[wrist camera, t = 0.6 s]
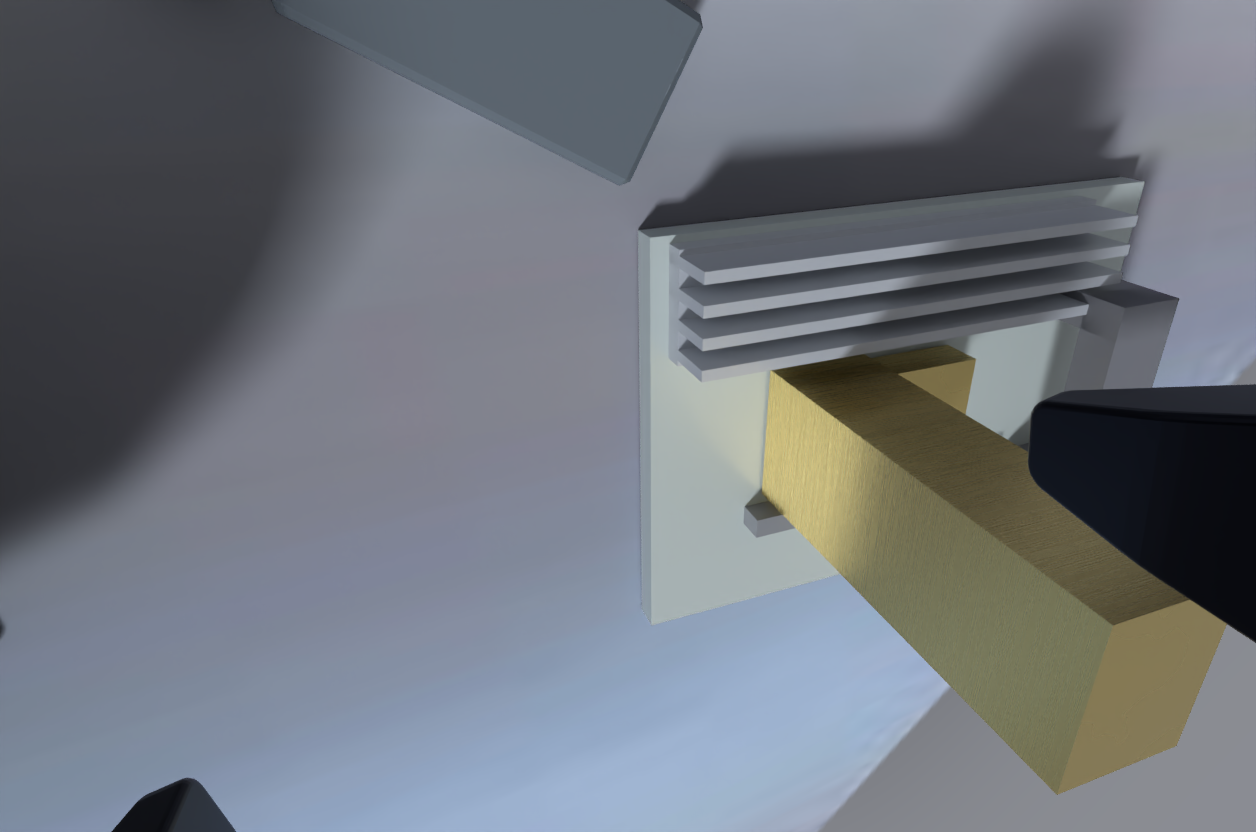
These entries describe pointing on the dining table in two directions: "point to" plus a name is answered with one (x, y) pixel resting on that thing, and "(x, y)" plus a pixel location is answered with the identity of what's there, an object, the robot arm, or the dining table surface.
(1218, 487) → the robot arm
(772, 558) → the socket board
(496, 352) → the dining table surface
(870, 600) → the yellow rectangular block
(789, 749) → the dining table surface
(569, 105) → the dark grey flat block
